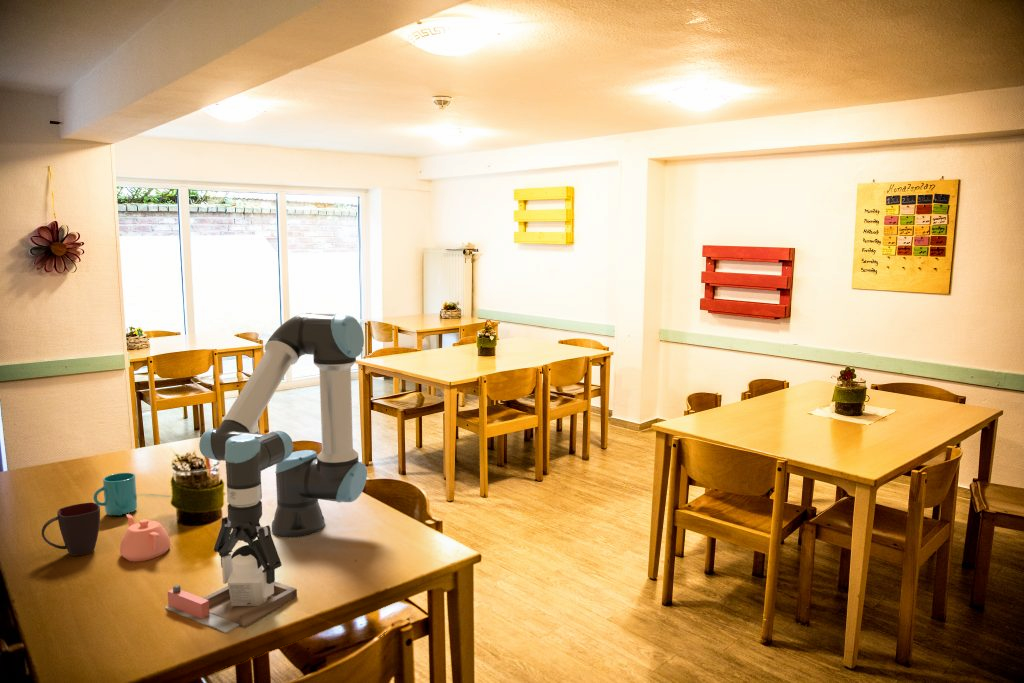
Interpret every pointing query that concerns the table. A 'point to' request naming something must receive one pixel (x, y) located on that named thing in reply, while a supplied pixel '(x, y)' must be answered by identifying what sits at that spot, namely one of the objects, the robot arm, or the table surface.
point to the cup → (118, 494)
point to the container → (246, 578)
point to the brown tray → (239, 609)
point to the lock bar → (188, 602)
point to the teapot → (144, 540)
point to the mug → (77, 527)
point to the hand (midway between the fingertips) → (248, 588)
